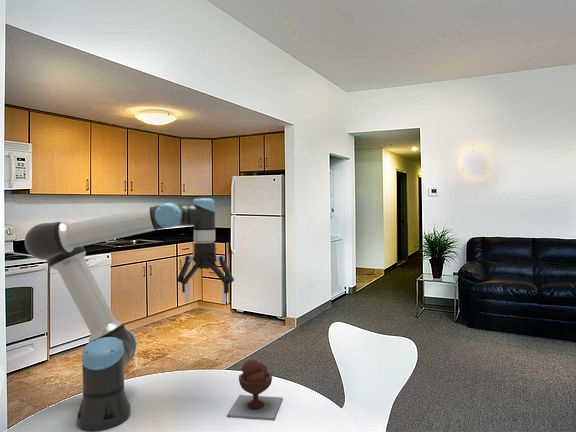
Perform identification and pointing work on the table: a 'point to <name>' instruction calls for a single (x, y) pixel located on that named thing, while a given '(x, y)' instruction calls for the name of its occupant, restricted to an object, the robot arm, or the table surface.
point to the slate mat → (265, 413)
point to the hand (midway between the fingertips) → (205, 302)
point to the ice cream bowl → (255, 381)
